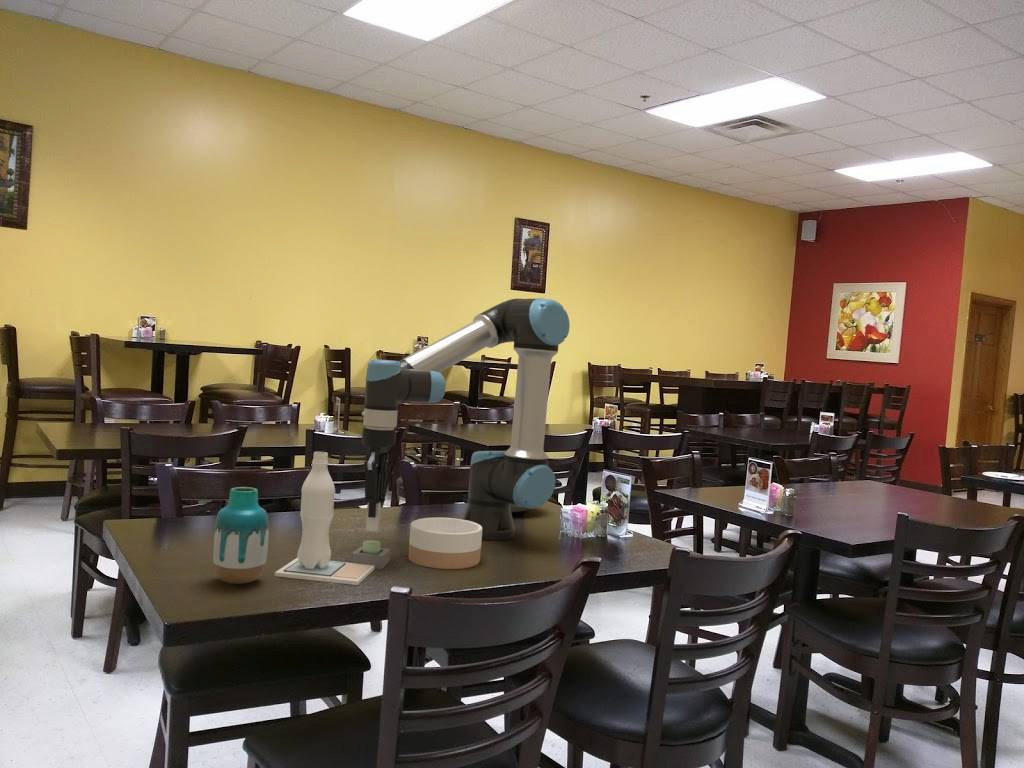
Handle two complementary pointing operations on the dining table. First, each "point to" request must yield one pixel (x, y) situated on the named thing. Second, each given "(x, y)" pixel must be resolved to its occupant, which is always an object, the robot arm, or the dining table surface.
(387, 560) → the button housing
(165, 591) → the dining table surface
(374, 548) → the button
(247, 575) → the vase
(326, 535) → the water bottle
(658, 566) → the dining table surface
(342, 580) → the cream rectangular board
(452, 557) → the bowl
